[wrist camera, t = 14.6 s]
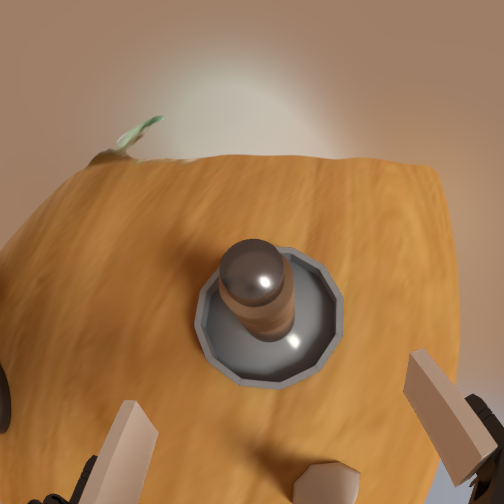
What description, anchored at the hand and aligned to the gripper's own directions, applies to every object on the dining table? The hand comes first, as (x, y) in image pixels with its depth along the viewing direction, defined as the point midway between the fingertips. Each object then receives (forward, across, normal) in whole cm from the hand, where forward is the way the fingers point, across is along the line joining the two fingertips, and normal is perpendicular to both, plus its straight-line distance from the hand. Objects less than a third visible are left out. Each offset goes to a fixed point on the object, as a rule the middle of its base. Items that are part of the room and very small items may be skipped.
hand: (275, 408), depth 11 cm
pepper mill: (+17, 0, -5) cm, 18 cm away
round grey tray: (+17, 0, -5) cm, 18 cm away
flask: (+3, +2, -20) cm, 20 cm away
